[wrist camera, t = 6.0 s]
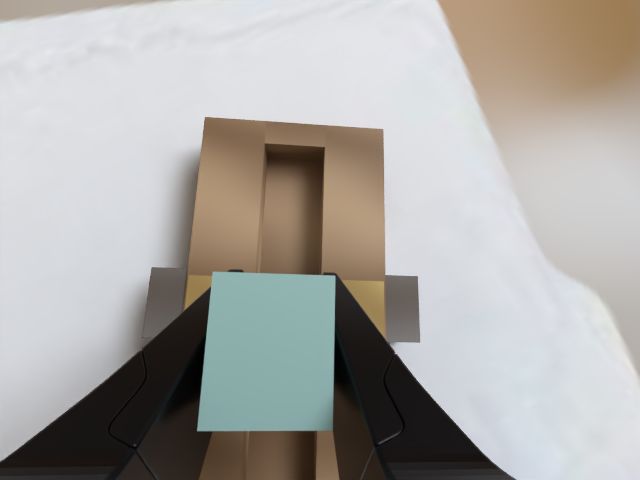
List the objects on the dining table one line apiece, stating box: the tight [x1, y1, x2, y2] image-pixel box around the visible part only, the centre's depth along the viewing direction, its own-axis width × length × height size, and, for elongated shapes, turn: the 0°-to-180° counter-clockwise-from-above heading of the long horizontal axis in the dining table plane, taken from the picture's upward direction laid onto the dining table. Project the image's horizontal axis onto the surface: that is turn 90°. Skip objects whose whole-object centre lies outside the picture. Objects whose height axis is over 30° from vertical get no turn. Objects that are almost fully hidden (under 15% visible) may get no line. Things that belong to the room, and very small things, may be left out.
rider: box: [197, 272, 335, 431], centre depth 10 cm, size 3×2×9 cm
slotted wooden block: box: [142, 117, 420, 480], centre depth 14 cm, size 18×12×3 cm
